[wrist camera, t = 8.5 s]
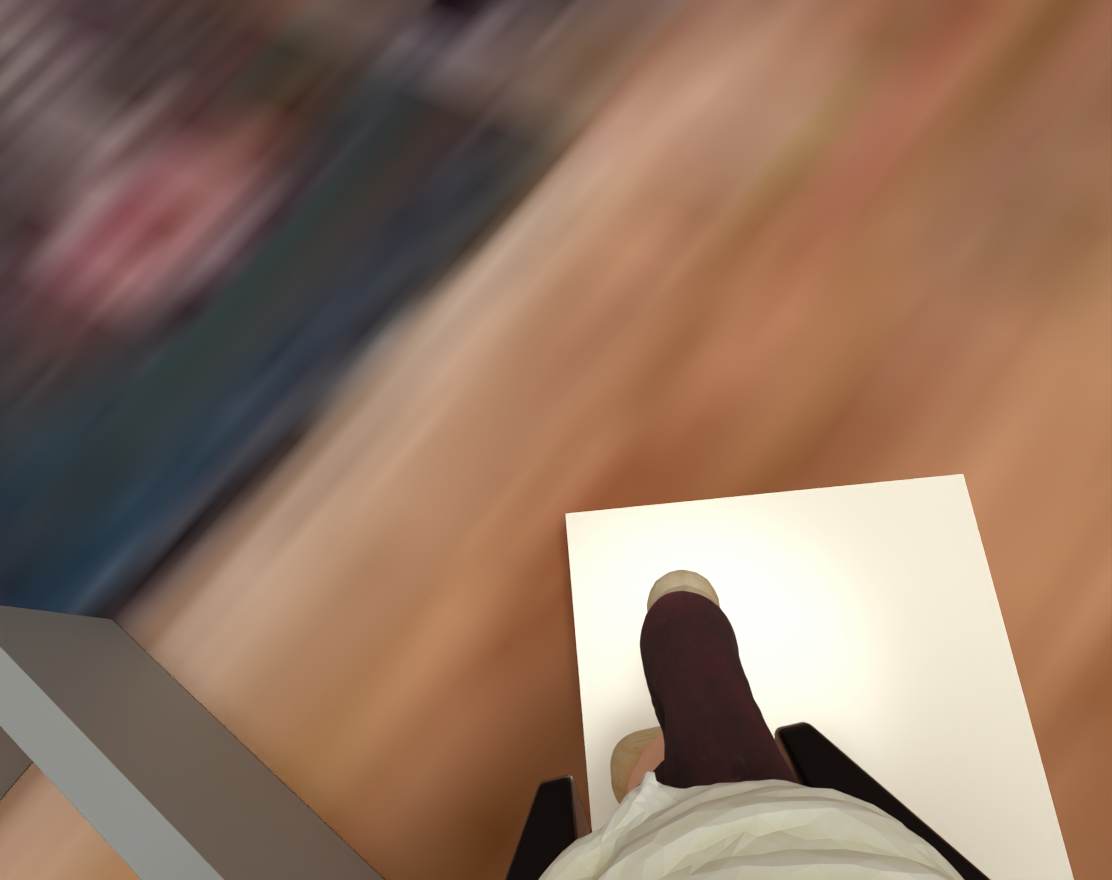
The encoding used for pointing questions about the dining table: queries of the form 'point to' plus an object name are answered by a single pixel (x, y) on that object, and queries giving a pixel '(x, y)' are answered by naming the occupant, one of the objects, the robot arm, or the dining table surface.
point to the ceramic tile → (836, 647)
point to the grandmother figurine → (725, 777)
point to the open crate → (150, 760)
